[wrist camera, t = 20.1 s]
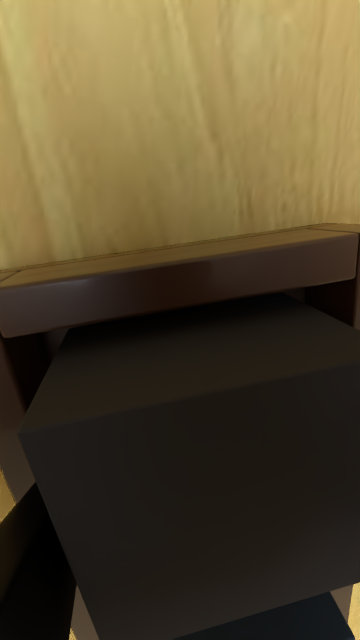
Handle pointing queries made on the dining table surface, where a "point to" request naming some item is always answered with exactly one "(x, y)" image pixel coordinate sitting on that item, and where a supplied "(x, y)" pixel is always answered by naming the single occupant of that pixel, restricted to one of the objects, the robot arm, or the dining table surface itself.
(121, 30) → the dining table surface
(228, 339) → the pad charcoal
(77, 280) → the dark wooden tray
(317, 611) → the slate blue square block
